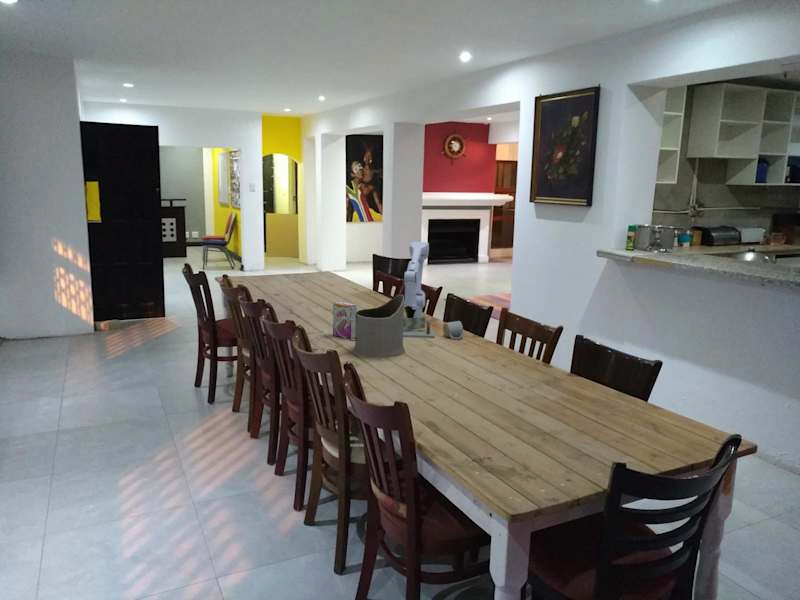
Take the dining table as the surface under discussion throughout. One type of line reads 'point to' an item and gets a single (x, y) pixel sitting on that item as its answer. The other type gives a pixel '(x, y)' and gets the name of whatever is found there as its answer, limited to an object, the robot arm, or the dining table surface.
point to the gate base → (419, 333)
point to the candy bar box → (344, 320)
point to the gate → (413, 323)
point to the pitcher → (379, 330)
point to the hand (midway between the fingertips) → (410, 320)
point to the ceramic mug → (453, 330)
